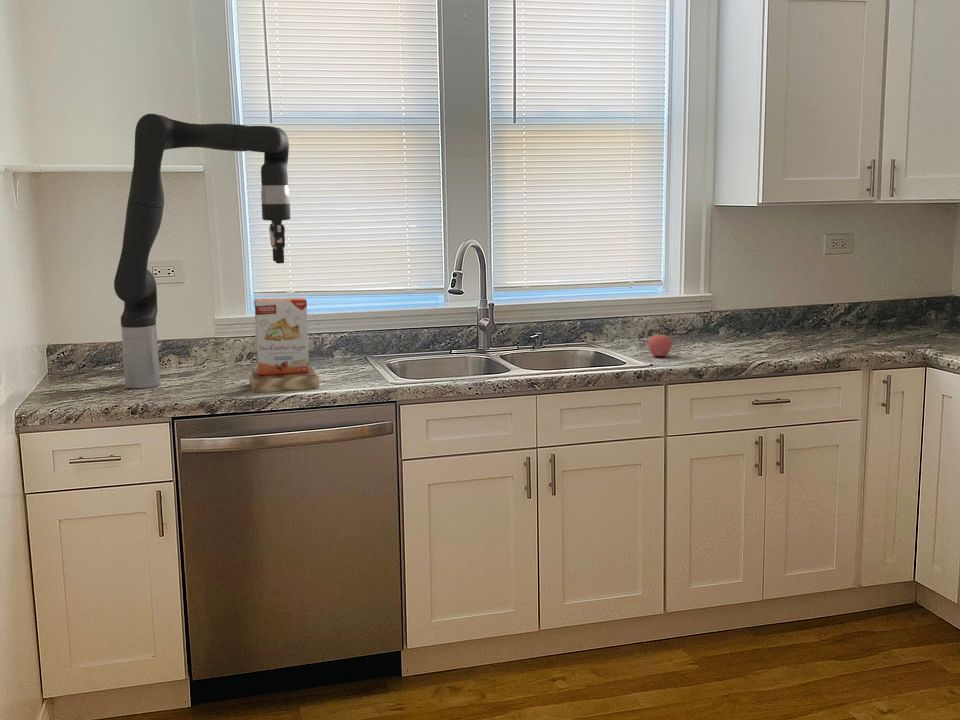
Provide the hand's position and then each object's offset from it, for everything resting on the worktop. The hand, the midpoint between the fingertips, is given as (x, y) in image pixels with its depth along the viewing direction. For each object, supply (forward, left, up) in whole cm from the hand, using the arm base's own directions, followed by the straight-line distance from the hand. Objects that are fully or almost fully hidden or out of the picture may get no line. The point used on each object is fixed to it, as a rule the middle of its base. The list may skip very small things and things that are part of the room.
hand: (278, 262), depth 253 cm
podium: (0, 0, -35) cm, 35 cm away
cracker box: (0, 0, -31) cm, 31 cm away
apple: (+120, +5, -35) cm, 125 cm away
